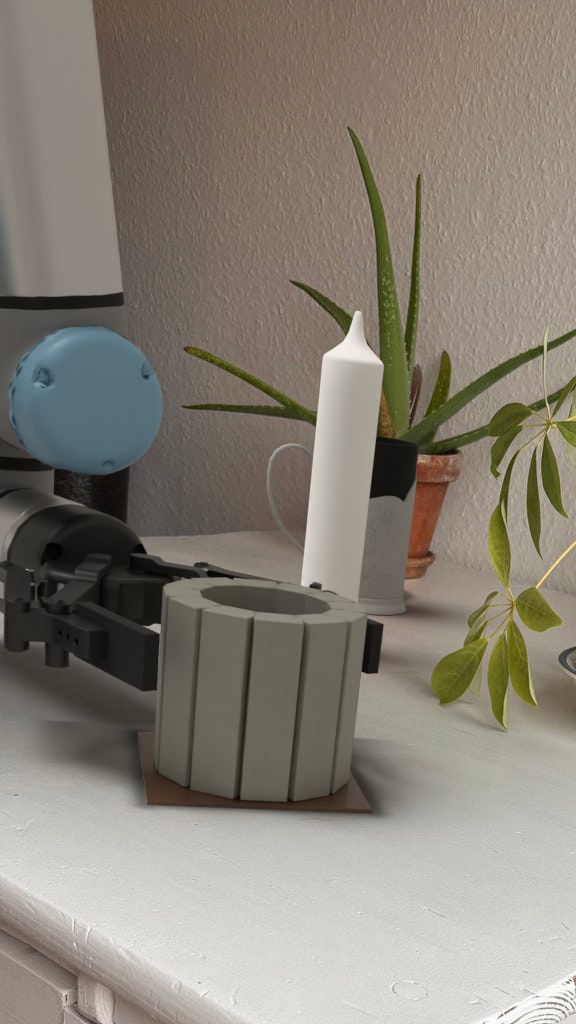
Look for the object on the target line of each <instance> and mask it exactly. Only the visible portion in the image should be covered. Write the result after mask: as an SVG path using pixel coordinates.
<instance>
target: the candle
mask: <svg viewBox="0 0 576 1024" xmlns="http://www.w3.org/2000/svg"><path fill="white" fill-rule="evenodd" d="M384 369H385V366H384V363H383V361H382V360H381V359H380V358H379V357H378V356H377V355H376V354H375V352H374V351H373V349H371V348H370V346H369V345H368V343H367V339H366V336H365V329H364V320H363V312H362V311H360V310H355V312H354V314H353V318H352V320H351V324H350V327H349V330H348V333H347V335H346V336H345V337H344V339H343V341H341V343H339V344H338V345H336V346H335V347H333V348H332V349H330V350H329V351H327V352H326V353H324V354H323V356H322V362H321V371H320V382H319V383H320V384H319V391H318V392H319V393H318V403H317V413H316V424H315V435H314V446H313V454H312V455H313V465H312V466H311V474H310V475H311V477H310V488H309V498H308V507H307V508H308V509H307V519H306V528H305V538H304V548H303V549H304V555H303V558H302V559H303V560H302V570H301V580H300V581H301V582H300V586H305V587H309V585H310V584H311V583H313V582H317V583H320V584H322V589H321V590H323V591H324V590H330V591H332V592H334V593H336V594H338V595H339V596H341V597H344V598H347V599H350V600H353V601H355V602H356V603H358V594H359V585H360V576H361V567H362V558H363V549H364V540H365V531H366V523H367V514H368V505H369V496H370V487H371V478H372V469H373V460H374V451H375V442H376V436H377V431H378V425H379V424H378V423H379V415H380V414H379V413H380V406H381V398H382V397H381V396H382V387H383V378H384V371H385V370H384Z"/></svg>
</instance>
